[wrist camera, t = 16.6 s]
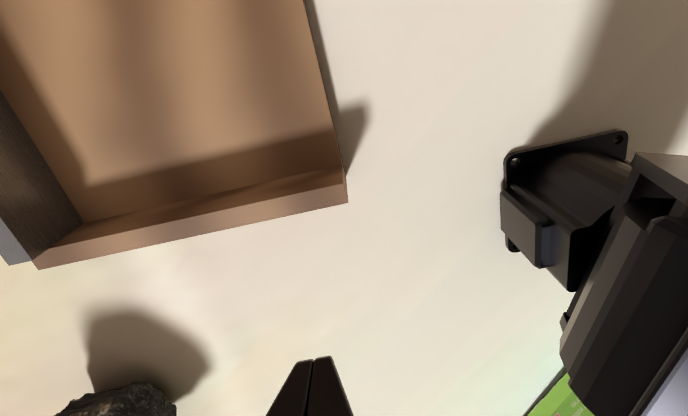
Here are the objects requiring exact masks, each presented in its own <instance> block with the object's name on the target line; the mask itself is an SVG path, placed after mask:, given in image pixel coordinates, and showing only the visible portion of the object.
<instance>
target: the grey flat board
mask: <svg viewBox="0 0 688 416" xmlns="http://www.w3.org/2000/svg"><path fill="white" fill-rule="evenodd" d="M83 224H84V221H83V219H82V218H81V216H80V215H79V213H78V212H77V210H76V208H75V207H74V205H73V204H72V202H71V200H70V199H69V197H68V196H67V194H66V193H65V191H64V189H63V188H62V186H61V185H60V183H59V181H58V180H57V178H56V177H55V175H54V174H53V172H52V170H51V169H50V167H49V166H48V164H47V162H46V161H45V159H44V158H43V156H42V155H41V153H40V151H39V150H38V148H37V147H36V145H35V143H34V142H33V140H32V139H31V137H30V136H29V134H28V132H27V131H26V129H25V128H24V126H23V125H22V123H21V121H20V120H19V118H18V117H17V115H16V113H15V112H14V110H13V109H12V107H11V106H10V104H9V102H8V101H7V99H6V98H5V96H4V94H3V93H2V91H1V90H0V255H1V256H2V257H3V259H4V260H5V261H6V263H7V264H8V265H9V266H10V265H14V264H19V263H23V262H28V261H32V260H34V259H35V258H36V257H38V256H39V255H41V254H42V253H43V252H45V251H46V250H48V249H49V248H50V247H52V246H53V245H55V244H56V243H57V242H59V241H60V240H62V239H63V238H64V237H66V236H67V235H69V234H70V233H71V232H73V231H74V230H76V229H77V228H78V227H80V226H81V225H83Z"/></svg>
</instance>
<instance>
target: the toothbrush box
mask: <svg viewBox="0 0 688 416" xmlns="http://www.w3.org/2000/svg"><path fill="white" fill-rule="evenodd" d="M569 378H570V377H569V375H568V374H567V373H566V374H565V375H564V376H563V377H562V378H561V379H560V380H559V381H558V382H557V383H556V385H555V386H554V387H553V388H552V389H551V390H550V391H549V393H548V394H547V395H546V396H545V397H544V398H543V399H541V401H540V402H539V403H538V404H537V405H536V406H535V407H534V409H533V410H532V411H531V412H530V413H529V414H528V415H527V416H594V415H593V414H592V413H591V412H590V411H589V410H588V409H587V408H586V407H585V406H584V405H583V404H582V402H581V401H580V400H579V399H578V397H577V396H576V395H575V394H574V392H573V391H572V390H571V389H570V387H569V385H568V379H569Z"/></svg>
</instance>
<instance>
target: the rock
mask: <svg viewBox="0 0 688 416" xmlns="http://www.w3.org/2000/svg"><path fill="white" fill-rule="evenodd" d="M54 416H176V406H175V405H174V404H172V403H171V402H170V401H169V400H168V399H167V398H166V396H165V395H163V394H161V391H160V390H159V389H155V388H153V387H152V386H151V385H150V384H149V383H148V382H144V381H142V382H138V381H137V382H133V383H131V384H130V385H128V386H127V387H125V388H123V389H121V390H110V391H108V392H102V393H87V394H85V395H84V396H83V397H81V398H80V399H77V400H75V399H73V400H72V401H70V402H69V405H68V406H67V407H66V408H65V409H64V410H62V411H61V412H60V413H57V414H56V415H54Z"/></svg>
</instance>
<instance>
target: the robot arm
mask: <svg viewBox="0 0 688 416" xmlns="http://www.w3.org/2000/svg"><path fill="white" fill-rule="evenodd" d="M617 136H619V139H618V140H617V141H616V142H615V143H614V139H615V138H616V137H617ZM627 143H628V134H627V132H625V131H622V130H619V129H616V130H611V131H606V132H602V133H597V134H593V135H588V136H584V137H579V138H575V139H570V140H565V141H561V142H556V143H552V144H547V145H543V146H538V147H534V148H529V149H525V150H520V151H516V152H512V153H509V154H508V155H507V156H506V157H505V158H504V162H503V168H504V189H503V190H502V191H501V193H500V215H501V230H502V231H503V232H504V233H505V241H506V247H507V248H508V250H509V251H510V252H520V251H521V252H522V253H523V254H524V255H525V256H526V258H527V259H528V260H529V261H530V262H531V263H532V264H533V265H534V266H535V267H537V268H538V269H541V268H546V269H547V270H548V271H549V272H550V273H551V274H552V275H553V276H554V277H555V278H556V279H557V280H558V281H559V282H560V283H561V284H562V286H563V287H564V288H565V289H566V290H567V291H569V292H576V293H575V295H574V297H573V299H572V302H571V304H570V306H569V308H568V310H567V312H564V313H563V315H562V317H561V320H560V325H561V328H562V331H563V334H562V336H561V338H560V357H561V359H562V361H563V364H564V366H565V369H566V371H567V374H568V375H569V377H570V378H569V379H568V385H569V387H570V389H571V390H572V391H573V392H574V394H575V395H576V396H577V397H578V399H579V400H580V401H581V402H582V404H583V405H584V406H585V407H586V408H587V409H588V410H589V411H590V412H591V413H592V414H593V415H594V416H688V156H682V155H668V154H653V153H636V154H635V156H634V158H633V160H632V162H629V161H627V160H625V158H626V151H627ZM514 158H517V162H516V163H515V164H514V165H511V164H510V163H511V161H512V159H514ZM513 244H515V245H516V246H512V245H513ZM266 416H354V415H353V413H352V410H351V407H350V405H349V402H348V399H347V396H346V394H345V391H344V388H343V386H342V383H341V380H340V378H339V375H338V372H337V369H336V367H335V364H334V361H333V359H332V357H331V356H325V357H319V358H316V359H315V360H313V359H308V360H303V361H299V362H297V363H296V364H295V366H294V367H293V369H292V371H291V373H290V374H289V376H288V378H287V379H286V381H285V383H284V385H283V386H282V388H281V390H280V392H279V393H278V395H277V397H276V399H275V400H274V402H273V404H272V406H271V407H270V409H269V411H268V413H267V414H266Z"/></svg>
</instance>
